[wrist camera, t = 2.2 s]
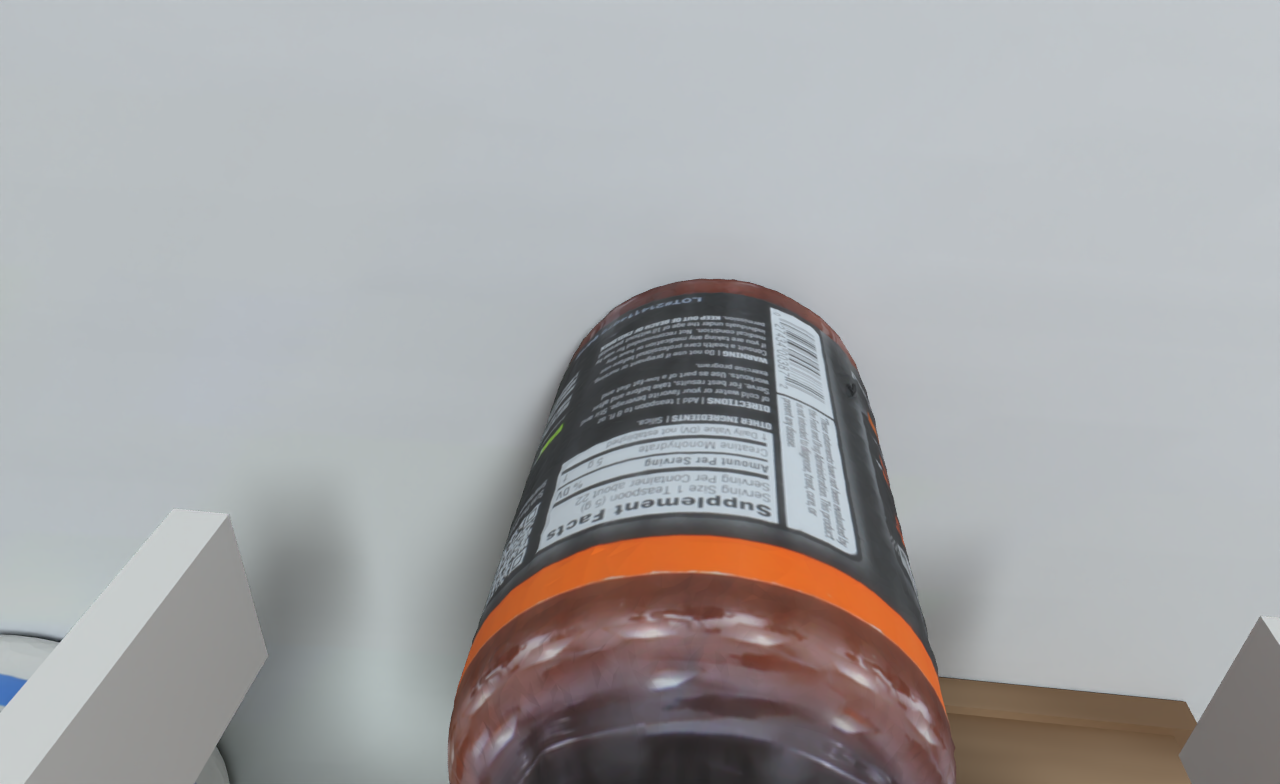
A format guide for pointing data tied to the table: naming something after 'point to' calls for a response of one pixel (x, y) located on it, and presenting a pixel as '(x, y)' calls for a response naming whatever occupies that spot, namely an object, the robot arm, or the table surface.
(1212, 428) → the table surface
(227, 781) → the supplement tub
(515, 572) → the supplement bottle
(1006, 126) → the table surface
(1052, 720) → the holder cradle
